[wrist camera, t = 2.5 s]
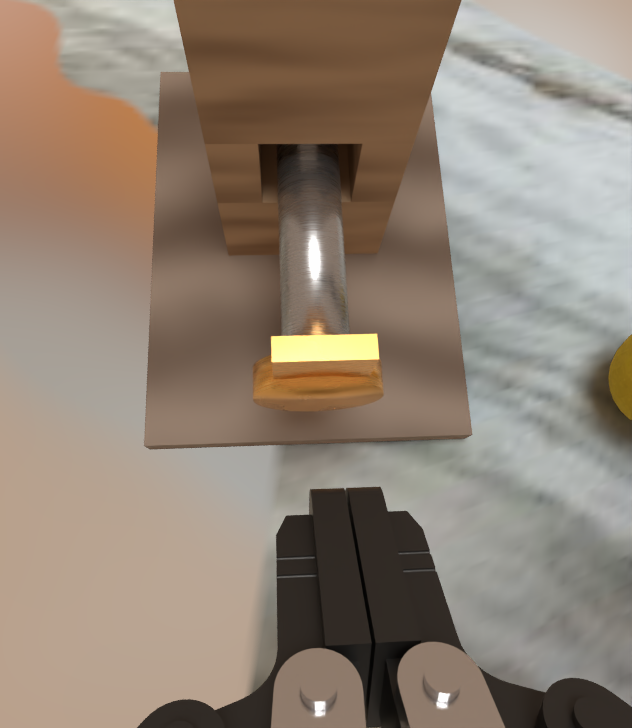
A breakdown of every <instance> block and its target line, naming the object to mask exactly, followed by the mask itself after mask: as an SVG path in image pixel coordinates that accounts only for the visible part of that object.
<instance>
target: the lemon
mask: <svg viewBox="0 0 632 728" xmlns="http://www.w3.org/2000/svg"><path fill="white" fill-rule="evenodd" d="M608 380H609V388H610V392H611V394H612V397H613V400H614V402H615V403H616V405H617V406H618V408H619V409H620V411H621V412H622V413H623V414H625V415H626V416H627V417H628V418H629V419H630V420H631V421H632V335H630V336H629V337H628V338H627V339H626V340H625V342H624V343H623V344H622V345H621V346H620V347H619V349H618V350H617V351H616V353H615V355H614V358H613V360H612V362H611V365H610V370H609V377H608Z"/></svg>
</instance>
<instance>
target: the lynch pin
mask: <svg viewBox="0 0 632 728" xmlns="http://www.w3.org/2000/svg"><path fill="white" fill-rule="evenodd" d="M276 145H277V184H278V222H279V261H280V299H281V336H271V349H272V355H269V356H266V357H264V358H261V359H260V360H258V361H257V362H256V363H255V364H254V365H253V401H254V403H256V404H257V405H259V406H262V407H266V408H270V409H276V410H284V411H330V410H340V409H347V408H353V407H358V406H363V405H367V404H370V403H373V402H375V401H377V400H379V399H381V398H382V397H383V395H384V391H383V379H382V366H381V360H380V358H379V352H378V339H377V334H352V335H350V329H349V313H348V297H347V281H346V265H345V249H344V233H343V217H342V201H341V185H340V169H339V153H338V144H276Z"/></svg>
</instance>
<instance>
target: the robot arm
mask: <svg viewBox="0 0 632 728" xmlns="http://www.w3.org/2000/svg"><path fill="white" fill-rule="evenodd" d="M276 551H277V629H278V652H277V659H276V663H275V665H274V668H273V670H272V672H271V674H270V676H269V677H268V679H267V680H266V681H265V682H264V684H263V685H262V686H261V687H259V688H258V689H257V690H256V691H255V692H253V693H252V694H250V695H249V696H247V697H245V698H243V699H241V700H239V701H236V702H234V703H232V704H229V705H227V706H225V707H222V708H220V709H217V710H214V709H213V708H212V707H210V706H208V705H207V704H205V703H203V702H200V701H196V700H178V701H173V702H171V703H168V704H165V705H164V706H162V707H160V708H158V709H157V710H155V711H154V712H152V713H151V714H150V715H149V716H148V717H147V718H146V719H145V720H144V721H143V722H142V723H141V724H140V725H139V726H138V727H137V728H366V727H367V728H368V727H381V728H632V707H631V706H630V705H628V704H627V703H625V702H624V701H623V700H621V699H620V698H619V697H617V696H616V695H615V694H613V693H612V692H610V691H609V690H607V689H606V688H604V687H602V686H600V685H598V684H596V683H594V682H591V681H588V680H584V679H580V678H567V679H562V680H559V681H557V682H555V683H554V684H552V685H551V686H550V687H549V689H548V690H547V692H546V693H545V692H541V691H537V690H533V689H530V688H526V687H522V686H518V685H515V684H511V683H508V682H505V681H502V680H499V679H497V678H495V677H493V676H491V675H489V674H488V673H486V672H485V671H483V670H482V669H481V668H480V667H478V666H477V665H476V663H475V662H474V661H473V660H472V659H471V658H470V657H469V656H468V655H467V654H466V652H465V651H464V649H463V647H462V646H461V644H460V641H459V639H458V636H457V633H456V630H455V627H454V624H453V620H452V617H451V614H450V611H449V608H448V605H447V602H446V599H445V596H444V593H443V590H442V587H441V584H440V581H439V578H438V575H437V572H436V571H435V565H434V562H433V559H432V556H431V554H430V552H429V547H428V544H427V541H426V538H425V535H424V532H423V529H422V528H421V527H420V525H419V524H418V523H417V522H416V521H415V520H414V519H413V517H412V516H411V515H410V514H409V513H408V512H407V511H394V512H388V511H387V507H386V503H385V499H384V495H383V492H382V489H381V487H362V488H346V490H344V488H338V489H310V497H309V515H291V516H286V517H285V519H284V521H283V523H282V525H281V527H280V529H279V531H278V533H277V535H276ZM365 720H366V722H365Z"/></svg>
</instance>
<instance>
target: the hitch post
mask: <svg viewBox="0 0 632 728" xmlns="http://www.w3.org/2000/svg"><path fill="white" fill-rule="evenodd" d="M460 3H461V0H174V4H175V9H176V13H177V18H178V22H179V27H180V32H181V36H182V41H183V46H184V50H185V55H186V60H187V64H188V69H189V72H161V78H160V100H159V123H158V146H157V168H156V169H157V170H156V191H155V214H154V236H153V259H152V281H151V305H150V326H149V349H148V371H147V373H148V374H147V395H146V417H145V440H144V446H145V447H147V448H149V449H173V448H199V447H200V448H201V447H229V446H256V445H257V446H259V445H288V444H316V443H345V442H374V441H402V440H431V439H460V438H466V437H469V436H471V435H472V428H471V420H470V412H469V404H468V395H467V387H466V379H465V370H464V362H463V354H462V346H461V337H460V329H459V321H458V313H457V304H456V296H455V288H454V280H453V271H452V263H451V255H450V246H449V238H448V230H447V222H446V213H445V205H444V197H443V189H442V180H441V172H440V164H439V155H438V147H437V139H436V131H435V122H434V114H433V106H432V98H431V90H432V87H433V84H434V81H435V78H436V75H437V72H438V69H439V66H440V63H441V60H442V57H443V54H444V51H445V48H446V45H447V42H448V39H449V36H450V33H451V30H452V27H453V24H454V21H455V18H456V15H457V12H458V9H459V6H460ZM276 144H338V153H339V169H340V185H341V201H342V217H343V233H344V249H345V265H346V281H347V297H348V313H349V329H350V335H352V334H377V339H378V352H379V358H380V360H381V366H382V379H383V391H384V395H383V397H382V398H381V399H379V400H377V401H375V402H373V403H370V404H367V405H363V406H358V407H353V408H347V409H340V410H330V411H284V410H276V409H270V408H266V407H262V406H259V405H257V404H256V403H254V401H253V365H254V364H255V363H256V362H257V361H258V360H260V359H261V358H264V357H266V356H269V355H272V349H271V336H281V299H280V261H279V222H278V184H277V145H276Z"/></svg>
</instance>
